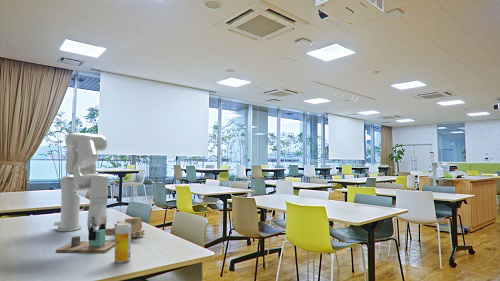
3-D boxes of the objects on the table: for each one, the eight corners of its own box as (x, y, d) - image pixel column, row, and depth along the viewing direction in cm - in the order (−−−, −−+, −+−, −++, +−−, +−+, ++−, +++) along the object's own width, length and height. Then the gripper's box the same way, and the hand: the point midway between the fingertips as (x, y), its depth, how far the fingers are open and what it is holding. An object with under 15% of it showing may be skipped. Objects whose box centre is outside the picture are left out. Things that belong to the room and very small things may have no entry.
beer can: (117, 258, 132) (118, 222, 133) (132, 258, 132) (133, 222, 133) (112, 263, 126) (113, 225, 127) (127, 263, 126) (128, 225, 127)
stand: (55, 252, 140) (56, 240, 140) (72, 243, 154) (73, 233, 154) (105, 252, 140) (105, 240, 140) (117, 244, 154) (118, 233, 154)
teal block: (88, 246, 144) (89, 231, 145) (94, 243, 149) (94, 229, 150) (99, 246, 144) (100, 231, 145) (105, 243, 149) (105, 229, 150)
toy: (151, 214, 175) (123, 217, 181) (125, 221, 156) (95, 223, 163) (152, 232, 174) (124, 234, 180) (127, 241, 155) (97, 242, 162)
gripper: (99, 198, 157) (97, 232, 156) (81, 203, 139) (79, 242, 138) (114, 198, 157) (112, 233, 156) (97, 203, 139) (96, 242, 139)
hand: (97, 237), depth 147 cm, fingers open, 9 cm apart
